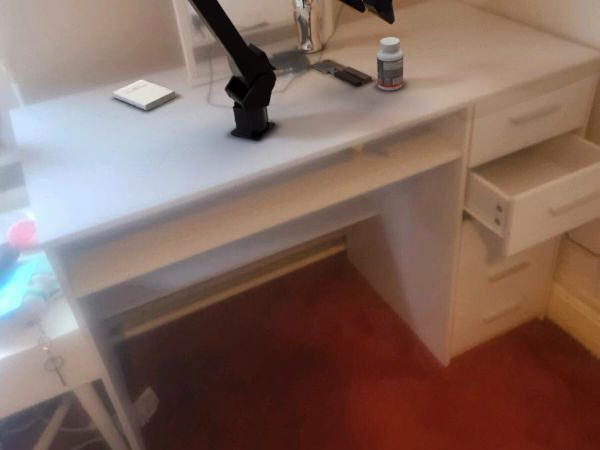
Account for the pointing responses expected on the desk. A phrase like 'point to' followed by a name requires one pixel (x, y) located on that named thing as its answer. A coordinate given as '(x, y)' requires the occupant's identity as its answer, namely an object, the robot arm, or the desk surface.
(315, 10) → the beer glass
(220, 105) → the desk surface
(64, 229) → the desk surface
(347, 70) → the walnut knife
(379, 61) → the pill bottle
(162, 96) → the hard drive
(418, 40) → the desk surface
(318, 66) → the black-handled fork
